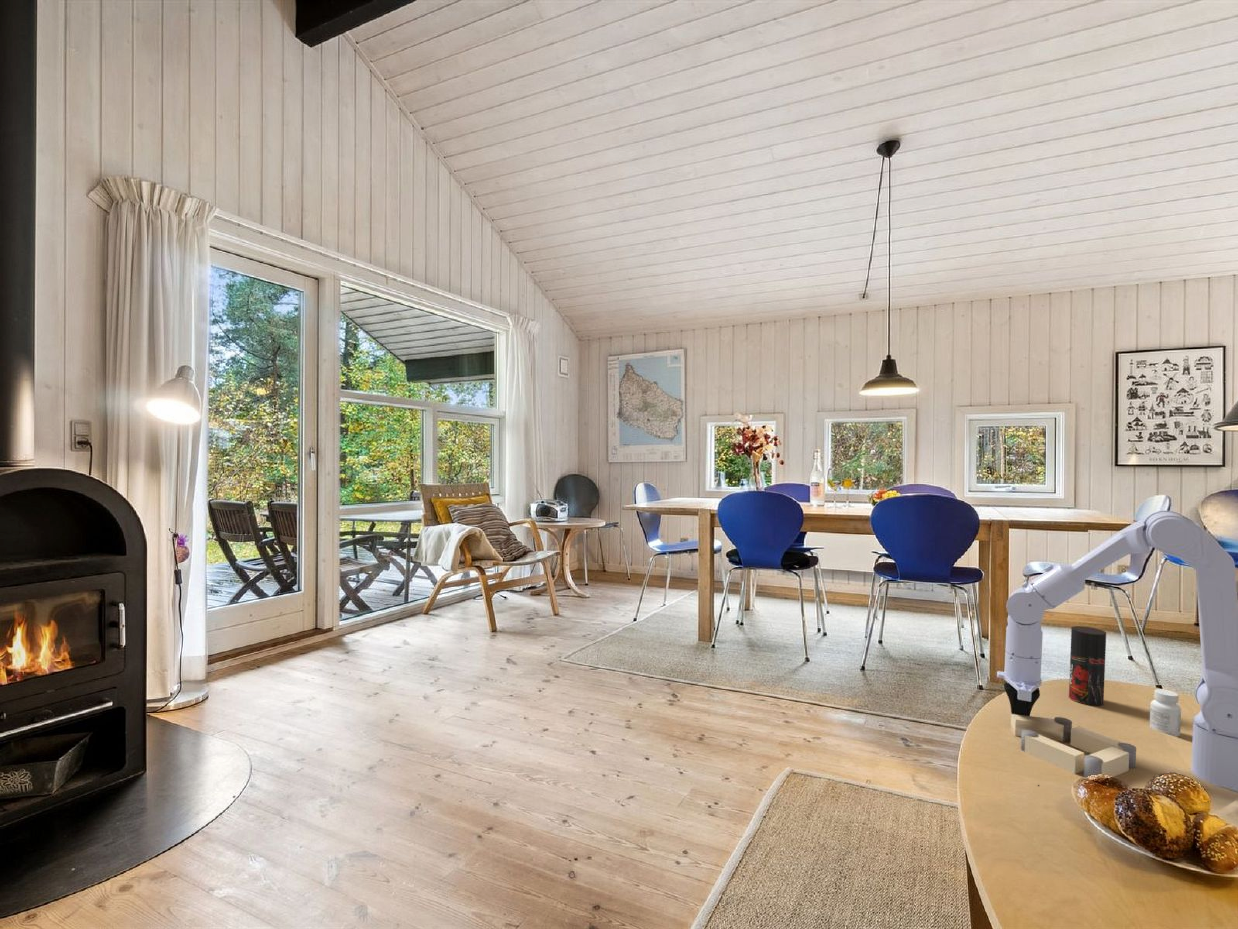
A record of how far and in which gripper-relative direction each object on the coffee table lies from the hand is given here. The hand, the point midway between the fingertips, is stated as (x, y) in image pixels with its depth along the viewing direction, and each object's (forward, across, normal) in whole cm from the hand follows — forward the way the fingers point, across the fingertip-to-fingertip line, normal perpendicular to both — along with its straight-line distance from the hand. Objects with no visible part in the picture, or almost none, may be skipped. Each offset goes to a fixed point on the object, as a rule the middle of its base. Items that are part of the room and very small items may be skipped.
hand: (1019, 724), depth 119 cm
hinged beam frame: (+1, +7, +8) cm, 11 cm away
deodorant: (+2, -25, +13) cm, 29 cm away
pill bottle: (+2, -14, +24) cm, 28 cm away
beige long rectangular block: (+1, +1, +3) cm, 4 cm away
